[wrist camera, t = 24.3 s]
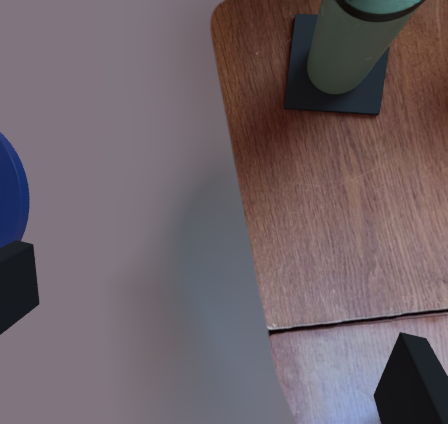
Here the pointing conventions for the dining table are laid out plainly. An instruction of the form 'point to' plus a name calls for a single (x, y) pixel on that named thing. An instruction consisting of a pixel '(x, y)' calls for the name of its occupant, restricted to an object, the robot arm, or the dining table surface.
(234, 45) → the dining table surface
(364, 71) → the tin
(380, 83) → the mat
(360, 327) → the dining table surface
